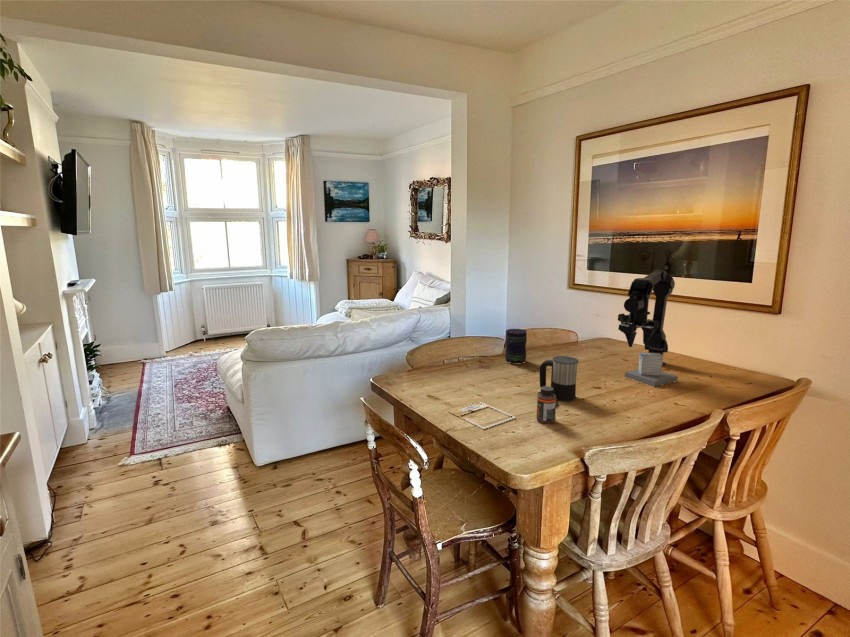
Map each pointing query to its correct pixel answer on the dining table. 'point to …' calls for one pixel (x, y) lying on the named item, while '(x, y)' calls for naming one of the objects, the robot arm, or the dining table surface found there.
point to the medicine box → (650, 364)
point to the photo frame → (476, 407)
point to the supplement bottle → (546, 405)
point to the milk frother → (561, 377)
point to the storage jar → (515, 345)
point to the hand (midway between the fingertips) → (637, 345)
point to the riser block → (651, 378)
